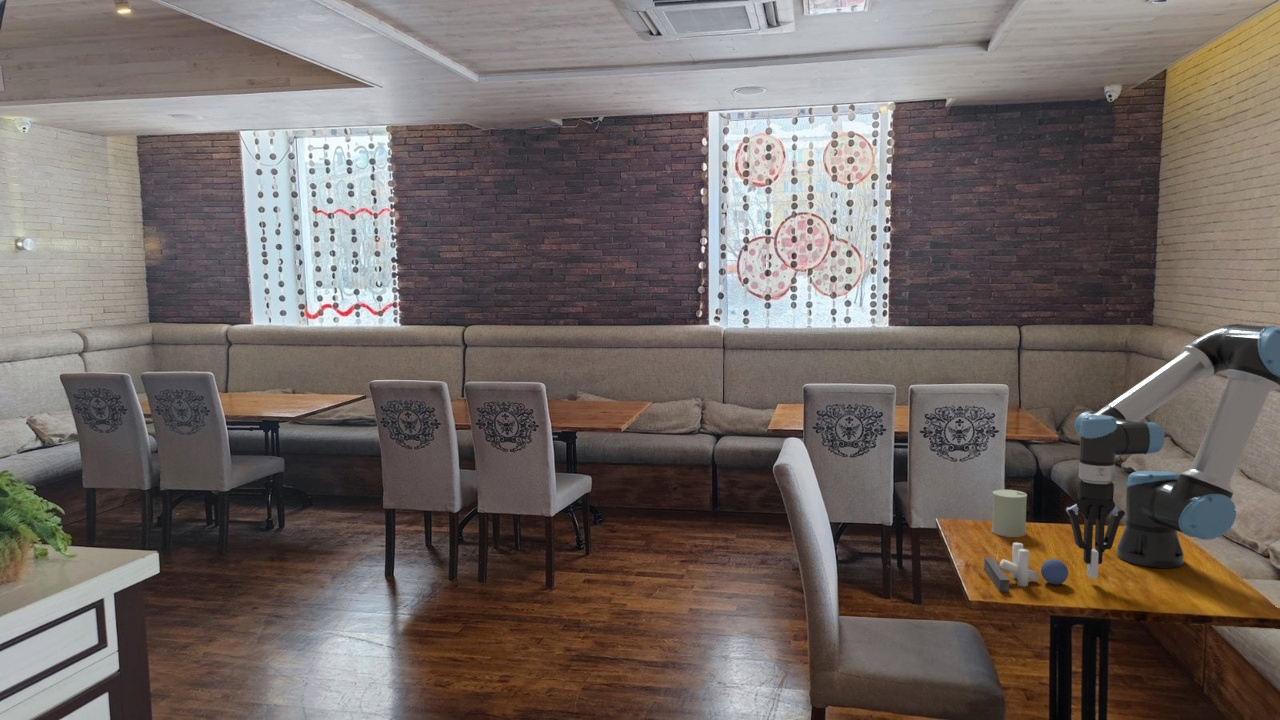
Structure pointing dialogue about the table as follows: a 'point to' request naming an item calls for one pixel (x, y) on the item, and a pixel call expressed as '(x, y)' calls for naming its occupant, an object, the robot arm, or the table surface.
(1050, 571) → the ball
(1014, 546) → the pin back right
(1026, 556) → the pin back left
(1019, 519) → the can
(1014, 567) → the pin front
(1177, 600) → the table surface
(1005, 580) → the back wall
